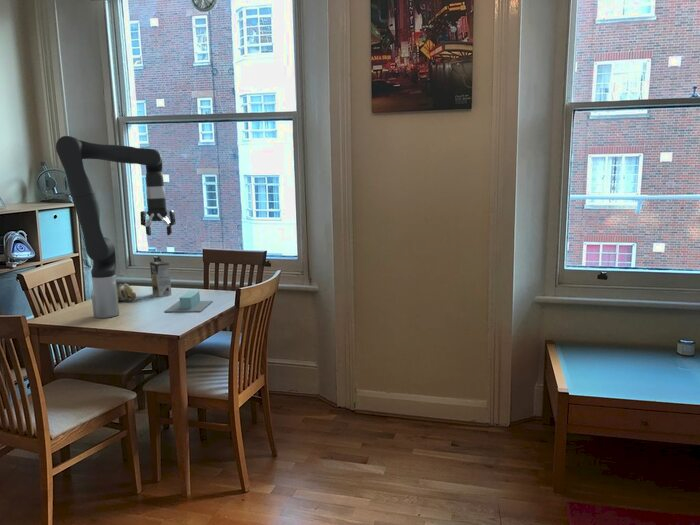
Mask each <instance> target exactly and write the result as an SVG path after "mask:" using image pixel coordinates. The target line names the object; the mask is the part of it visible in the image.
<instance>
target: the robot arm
mask: <svg viewBox="0 0 700 525" xmlns="http://www.w3.org/2000/svg"><path fill="white" fill-rule="evenodd" d="M55 151H56V153H57V155H58V158H59V160H60V162H61V165H62V168H63V169H64V173H65V176H66V180H67V185H68V188H69V192H70V196H71V200H72V203H73V206H74V209H75V212H76V216H77V219H78V222H79V225H80V228H81V231H82V237H83V240H84V246H85V251H86V254H87V256H88V257H89V259H91V260H92V268H91V272H90V273H91V274H90V275H91V281H92V291H93V294H91V303H92V312H93V313H92V314H93V318H98V319H108V318H113V317H117V316H119V315H120V308H119V300H118V295H117V288H118V286H117V276H116V268H117V259H116V255H117V254H116V246H115V244H114V242H113V241H112V240H111V239H110V238H108V237H104V234H103V232H102V228H101V219H100V218H101V212H100V210H101V208H100V202H99V200H98V196H97V193H96V189H95V187H94V185H93V183H92V181H91V179H90V177H89V174H88V173H87V171H86V169H85V164H84V161H83V160H102V161H107V162H112V163H113V162H115V163H119V164H129V165H130V164H131V165H135V164H136V165H142V166H145V171H146V174H145V186H146V191H145V192H146V204H147V205H146V206H147V207H146V208H147V211H145V210H143V211H140V215H139V216H140V225H141V226H144V227H145V234H146V235H147V236H151V235H152V230H151V228H152V227H151V225H152V223H153V222H163V223H164V224H165V225H166V235H167V236H171V234H172V233H173V231H172V226H174V225H176V223H177V222H176V216H175V210H167V201H166V200H167V198H166V190H165V181H164V174H163V157H162V153H161V152H160V151H159V150H158V149H154V148H144V147H143V148H142V147H135V146H127V145H121V144H100V143H93V142H88V141H85V140H82V139H79V138H76V137H74V136H70V135H63V136H61V137H60V138H58V139H57V141H56V142H55ZM147 216H148V219H147V218H146V217H147ZM167 216H168V217H169V218H168V217H167ZM146 220H147V221H146Z"/></svg>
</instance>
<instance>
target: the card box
mask: <svg viewBox="0 0 700 525" xmlns="http://www.w3.org/2000/svg"><path fill="white" fill-rule="evenodd" d="M200 296H201V295H200V291H196V290H194V291H189V290H188V291H187V292H186V293H184V294H183V295H181V296H180V297H179V301H180V309H192V308H193V307H194V306H196V305H197V304H198V303H199V302H200V301H201V297H200Z"/></svg>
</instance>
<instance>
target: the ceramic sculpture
mask: <svg viewBox="0 0 700 525" xmlns="http://www.w3.org/2000/svg"><path fill="white" fill-rule="evenodd" d="M117 295H118V301H121V302H124V301H125V302H126V301H129V300H130V301H132V300H135V299H136V297H137V293H136V292H133V288H132V287H131V286H130V285H129V284H128V283H125V282H121V283H120V284H119V285H118V286H117Z"/></svg>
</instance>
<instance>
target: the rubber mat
mask: <svg viewBox="0 0 700 525" xmlns="http://www.w3.org/2000/svg"><path fill="white" fill-rule="evenodd" d="M212 303H214V300H200V302H199V303H198V304H197V305H196V306H194V307H193V308H192V309H180V300H178V301H176V302H175V303H174V304H172V305H171V306H170V307H168V308H167V309H166V310H164V311H163V312H164V313H201V312H203V311H204V310H205V309H206V308H207V307H208V306H210V305H211V304H212Z"/></svg>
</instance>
